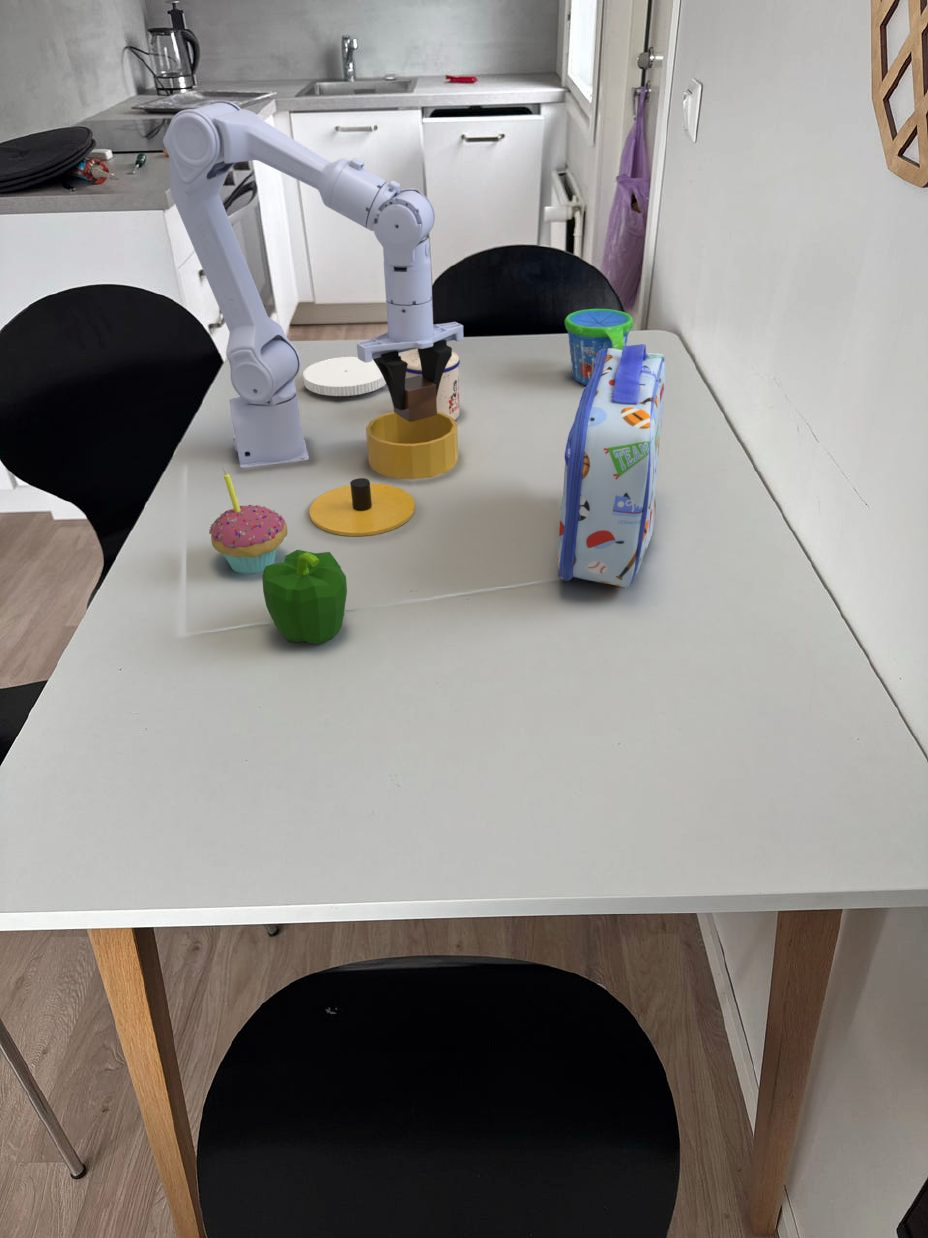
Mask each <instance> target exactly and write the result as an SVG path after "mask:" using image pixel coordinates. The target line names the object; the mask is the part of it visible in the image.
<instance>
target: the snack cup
mask: <svg viewBox="0 0 928 1238" xmlns="http://www.w3.org/2000/svg"><path fill="white" fill-rule="evenodd" d="M564 326H565V329H566V331H567V334H568V344H569V345H568V346H569V355H570V363H571V371H572V378H573V379H574V381H576V382H578V383H581V384H582V385H584V386H587V384H588V383H589V377H588V372H590V374H591V376H592V374H593V371H594V363H595V360H596V354H597V353H598V351H599V350H601V349H608V348H614V349H618V350H623V346H627V344H628V337H629V333H630V332H631V330H632V328H633V326H634V319H633V317H632V316H631V315H630V314H629V313H627V312H624V311H621V310H617V309H611V308H610V309H609V308H590V309H589V308H587V309H580V310H577V311H574V312H571V313H569V314H568V315H567V316H566V317H565V319H564Z"/></svg>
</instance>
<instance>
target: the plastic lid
mask: <svg viewBox="0 0 928 1238" xmlns="http://www.w3.org/2000/svg"><path fill="white" fill-rule="evenodd" d="M302 378H303V379H302V380H303V385H304V387H305V389H307V390H308V391H310V392H312V393H315V394H318V395H321V396H322V395H324V396H331V397H333V396H334V397H337V396H338V397H349V396H357V395H363V394H367V393H371V392H374V391H377V390H379V389H382V387H384V386H387V384H386V382H385V380H384V377H383V375H382V374H381V372H380V370H379V368H378V367H377V365H376V363H375V362H374V360H373V359H372V361H371V362H367V363H365V362H363V361H361V360H360V359H358V356H340V357H333V358H329V359H322V360H320V361H317V362H314V363H312V364H310V365H309V366H307V367H306V368H305V369H304V370H303V372H302Z"/></svg>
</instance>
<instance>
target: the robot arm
mask: <svg viewBox="0 0 928 1238" xmlns="http://www.w3.org/2000/svg"><path fill="white" fill-rule="evenodd" d="M162 142H163V146H164V148H165V150H166V153H167V155H168V167H169V168H168V169H169V171H168V172H169V191H170V193H171V197H172V200H173V202H174V204H175V207H176V209H177V212H178V214H179V216H180V220H181V222H182V224H183V226H184V228H185V231H186V233H187V235H188V237H189V240H190V243H191V245H192V247H193V249H194V251H195V254H196V256H197V259H198V261H199V263H200V266H201V268H202V270H203V274H204V275H205V278H206V280H207V282H208V284H209V287H210V290H211V292H212V294H213V296H214V299H215V301H216V304H217V306H218V308H219V311H220V313H221V315H222V317H223V321H224V323H225V325H226V327H227V329H228V332H229V333H228V340H227V345H226V349H225V350H226V351H225V355H226V358H227V361H228V363H229V367H230V377H229V378H230V382H231V385H232V387H233V389H234V391H235V392H236V393H237V395H238V397H233V398H229V407H230V413H231V421H232V427H233V433H234V438H233V445H234V446H233V447H234V451H235V452H237V455H238V462H239V467H240V468H242V469H243V468H251V467H259V466H268V465H269V466H270V465H274V464H275V465H276V464H277V465H278V464H284V463H294V462H302V461H308V460H309V459H310V457H309V451H308V448H307V443H306V440H305V438H304V437H303V433H302V432H303V431H302V424H301V423H302V422H301V416H300V409H299V401H298V392H297V387H296V381H295V378H296V377H297V376H298V374H299V373H300V370H301V366H302V360H301V355H300V353H299V351H298V348H297V347H296V346H295V344H294V343H292V342H291V340H289V339H288V337H287V335H286V334H285V331H284V329H283V327H282V325H280V324H279V323H278V322H277V321H275V320H273V319H272V318H270V317H269V315H268V313H267V311H266V308H265V305H264V303H263V301H262V298H261V295H260V293H259V290H258V288H257V285H256V282H255V281H254V278H253V276H252V272H251V271H250V268H249V266H248V264H247V261H246V259H245V256H244V253H243V251H242V249H241V245H240V242H239V241H238V238H237V236H236V233H235V231H234V228H233V226H232V223H231V221H230V218H229V216H228V213H227V211H226V209H225V205H224V203H223V200H222V198H221V195H220V194H221V190H222V188H223V186H224V184H225V182H226V179H227V177H228V174H229V172H230V170H231V169H232V168H233V166H235V164H237V163H243V162H249V161H258V162H260V163H262V164H264V165H266V166H268V167H271V168H273V169H275V170H277V171H279V172H281V173H283V174H285V175H286V176H289V177H291V178H293V179H295V180H297V181H299V182H301V183H304V184H306V185H308V186H309V187H312V188H314V189H315V190H317V192H318V193H319V195H320V198H321V201H322V203H323V205H324V206H325V207H327V208H328V209H330V210H332V211H334V212H336V213H338V214H340V215H341V216H343V217H345V218H347V219H349V220H350V221H352V222H354V223H356V224H358V225H359V226H362V227H363V228H365V229H367V230H369V231H371V232H373V233H374V237H375V238H376V240H377V241H378V243H379V244H380V245H381V247H382V252H383V253H382V254H383V274H384V275H383V276H384V288H385V304H386V305H385V306H386V307H385V308H386V320H387V322H386V323H387V332H385V333H382V334H379V335H377V336H375V337H373V338H370V339H368V340H365V341H361V342H358V343H356V353H357V357H358V359H360V360H361V361H363V362H365V363H367V362H371V361H372V359H373V360H374V362H375V363H376V365H377V367H378V368H379V370H380V372H381V374H382V375H383V377H384V380H385V382H386V386H387V389H388V392H389V396H390V399H391V402H392V406H393V408H394V407H396V408H397V409H399V410H405V402H406V396H405V378H406V370H407V366H408V363H406V362H405V361H403V360H401V356H402V355H400V353H406V352H408V351H411V350H414V349H418V353H419V358H420V363H421V369H422V377H423V378H425V379H427V380H429V381H431V382H432V383H434V384H436V399H437V394H438V389H439V385H440V381H441V378H442V375H443V372H444V370H445V367H446V365H447V363H448V361H449V360H450V358H451V356H452V351H453V348H452V347H451V346H449V345H448V342H453V341H454V342H460V341H461V342H462V341H463V340H464V325H463V324H461V323H458V322H456V321H452V322H446V323H436V324H434V311H433V309H434V307H433V283H432V282H433V281H432V280H433V279H432V260H431V248H430V246H431V245H430V244H431V243H430V237H427V236H428V235H429V234H430V232H432V229H433V228H434V224H435V218H436V215H435V210H434V206H433V204H432V202H431V201H430V199H429V197H428V196H426V195H424V194H423V193H422V192H421V191H420V190H419V189H418V188H413V187H407V188H403V189H400V187H401V184H400V183H399V182H397V181H396V180H392V181H387V180H385V179H383V178H382V177H380V176H378V175H376V174H374V173H373V172H371V171H369V170H366V168H364V166H365V162H364V161H362V160H361V159H359V158H357V157H354V158H352V159H351V160H349V159H347V158H340V159H337V160H335V161H333V162H331V161H329V160H327V159H326V158H324V157H323V156H320V154H318V153H316V152H314V151H313V150H311V149H310V148H308V147H307V146H306V145H303V144H302V143H300V142H298V140H295V139H293V138H292V137H291V136H288V135H287V134H285V133H284V132H282V131H280V129H278V128H276V127H275V126H273V125H271V124H270V123H268V122H266V121H265V120H263V119H262V118H261V117H260V116H259V115H257V113H256V112H254V111H252V110H249V109H245V108H243V109H242V108H241V107H240V106H239V105H238V104H237V103H234V102H233V101H229V100H223V99H222V100H218V101H214V102H213V103H212V104H208V105H204V106H201V107H196V108H188V109H183V110H180V111H179V112H177V113H176V114H175V115H174V116H173V117H172V119H171V121H170V123H169V125H168V127H167V130H166V133H165V134H164V137H163V139H162Z"/></svg>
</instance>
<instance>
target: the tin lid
mask: <svg viewBox="0 0 928 1238" xmlns="http://www.w3.org/2000/svg"><path fill="white" fill-rule="evenodd" d="M415 511H416V502H415V500H414V498H413V496H412V495H411V494H410V493H409V492H407V491H406V490H404V489H402V488H399V487H397V486H394V485H389V484H384V483H375V482H374V483H373V482H371V480H369V479H368V478H365V477H364V478H363V477H358V478H354V479H352V480H351V481H350V484H347V485H342V486H339V487H336V488H333V489H331V490H328V491H326V492H324V493H322V494H320V495H319V496H317V498H316V499H315V500H313V502H312V503H311V504H310V507H309V518H310V521H311V522H312V523H313V525H315V526H316V527H317V528H318V529H320V530H322V531H324V532H327V533H329V534H334V535H338V536H345V537H365V536H366V537H367V536H373V535H374V536H375V535H379V534H383V533H387V532H391V531H393V530H395V529H398V528H400V527H401V526H403V525H404V524H406V523H407V522H409V521H410V520H411V518H412V517H413V516H414V514H415Z"/></svg>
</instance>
